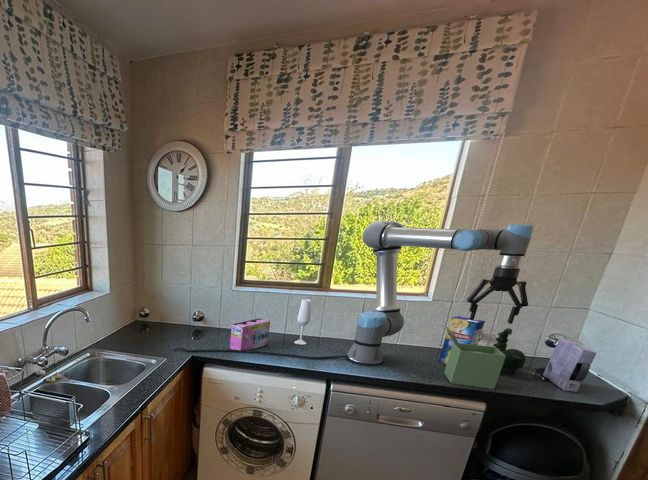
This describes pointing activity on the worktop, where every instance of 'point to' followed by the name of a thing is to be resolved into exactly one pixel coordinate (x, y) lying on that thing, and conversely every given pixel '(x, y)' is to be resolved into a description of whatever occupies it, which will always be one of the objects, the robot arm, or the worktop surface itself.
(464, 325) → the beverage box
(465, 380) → the green open box
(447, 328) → the flap
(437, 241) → the robot arm
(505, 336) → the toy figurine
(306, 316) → the champagne flute
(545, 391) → the worktop surface
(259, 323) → the gum box
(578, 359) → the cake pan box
